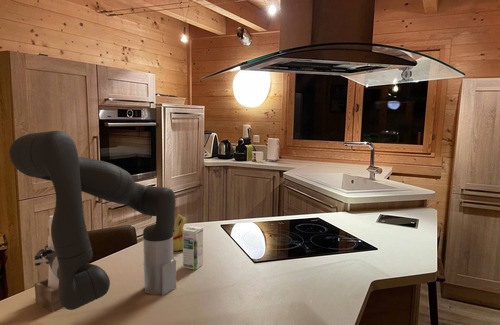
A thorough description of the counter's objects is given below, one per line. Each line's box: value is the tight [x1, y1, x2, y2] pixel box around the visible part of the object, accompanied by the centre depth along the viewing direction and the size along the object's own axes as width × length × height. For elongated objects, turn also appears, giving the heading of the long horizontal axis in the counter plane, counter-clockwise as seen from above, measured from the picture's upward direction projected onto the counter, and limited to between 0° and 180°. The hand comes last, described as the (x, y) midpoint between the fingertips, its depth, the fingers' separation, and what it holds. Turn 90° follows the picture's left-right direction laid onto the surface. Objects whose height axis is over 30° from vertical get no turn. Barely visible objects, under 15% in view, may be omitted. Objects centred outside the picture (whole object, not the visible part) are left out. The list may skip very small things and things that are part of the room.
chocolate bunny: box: [173, 213, 187, 252], centre depth 146 cm, size 7×11×15 cm, turn 116°
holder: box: [34, 278, 64, 312], centre depth 106 cm, size 9×9×6 cm
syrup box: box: [182, 225, 204, 271], centre depth 131 cm, size 6×6×14 cm
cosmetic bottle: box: [47, 214, 59, 290], centre depth 104 cm, size 6×6×22 cm
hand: (55, 245), depth 106 cm, fingers closed on cosmetic bottle, 3 cm apart
